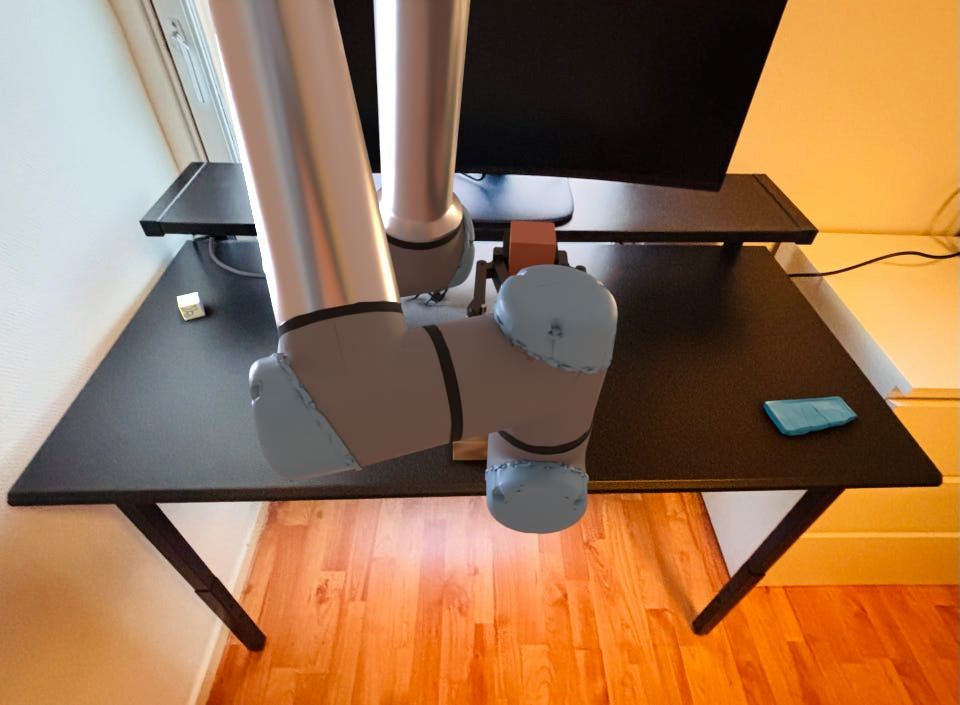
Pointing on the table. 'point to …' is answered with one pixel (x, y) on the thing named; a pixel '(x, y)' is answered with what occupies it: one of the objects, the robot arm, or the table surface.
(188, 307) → the alphabet block
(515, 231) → the pillar block
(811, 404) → the sponge
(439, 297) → the creature
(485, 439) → the slab stack
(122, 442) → the table surface
